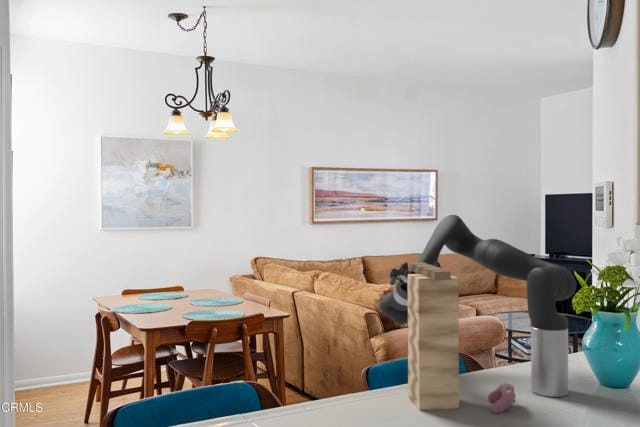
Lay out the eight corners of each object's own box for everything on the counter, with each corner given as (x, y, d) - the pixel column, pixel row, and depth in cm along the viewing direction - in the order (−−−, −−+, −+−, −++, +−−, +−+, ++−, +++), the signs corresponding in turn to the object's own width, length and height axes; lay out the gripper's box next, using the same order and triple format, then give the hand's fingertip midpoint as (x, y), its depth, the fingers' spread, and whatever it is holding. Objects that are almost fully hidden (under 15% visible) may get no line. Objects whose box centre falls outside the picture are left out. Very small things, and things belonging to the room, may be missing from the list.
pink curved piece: (507, 421, 144) (521, 395, 143) (489, 411, 145) (503, 386, 144) (502, 407, 154) (515, 383, 153) (486, 398, 154) (498, 374, 154)
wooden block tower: (407, 397, 157) (407, 274, 157) (445, 395, 159) (445, 273, 158) (419, 410, 147) (418, 278, 147) (459, 408, 149) (458, 277, 148)
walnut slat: (409, 270, 166) (409, 262, 166) (423, 269, 167) (423, 262, 167) (434, 280, 144) (434, 271, 144) (450, 279, 145) (450, 271, 145)
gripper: (382, 277, 176) (394, 252, 162) (430, 275, 178) (445, 251, 164) (385, 301, 172) (398, 278, 158) (434, 300, 174) (450, 277, 160)
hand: (422, 265), depth 161 cm, fingers open, 8 cm apart
